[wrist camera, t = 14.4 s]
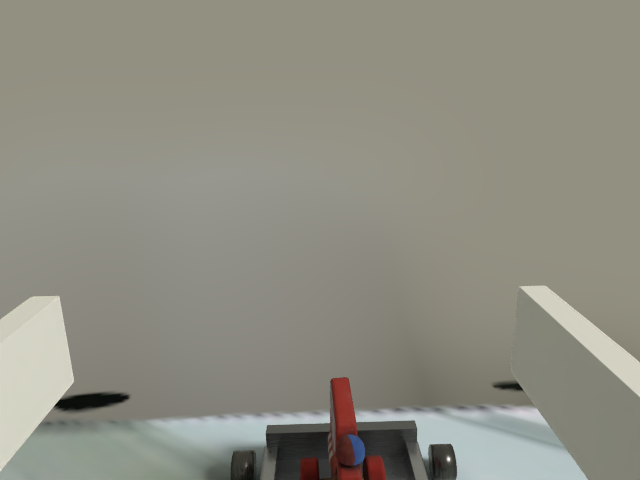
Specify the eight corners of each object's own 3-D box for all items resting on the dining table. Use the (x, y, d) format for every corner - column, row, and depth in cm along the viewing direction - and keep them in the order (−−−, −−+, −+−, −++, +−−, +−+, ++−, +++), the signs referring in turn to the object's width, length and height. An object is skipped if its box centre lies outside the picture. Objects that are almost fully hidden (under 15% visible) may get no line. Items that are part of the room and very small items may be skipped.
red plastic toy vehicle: (297, 611, 33) (289, 480, 30) (302, 474, 45) (296, 372, 42) (402, 607, 33) (404, 476, 30) (378, 472, 45) (378, 369, 42)
